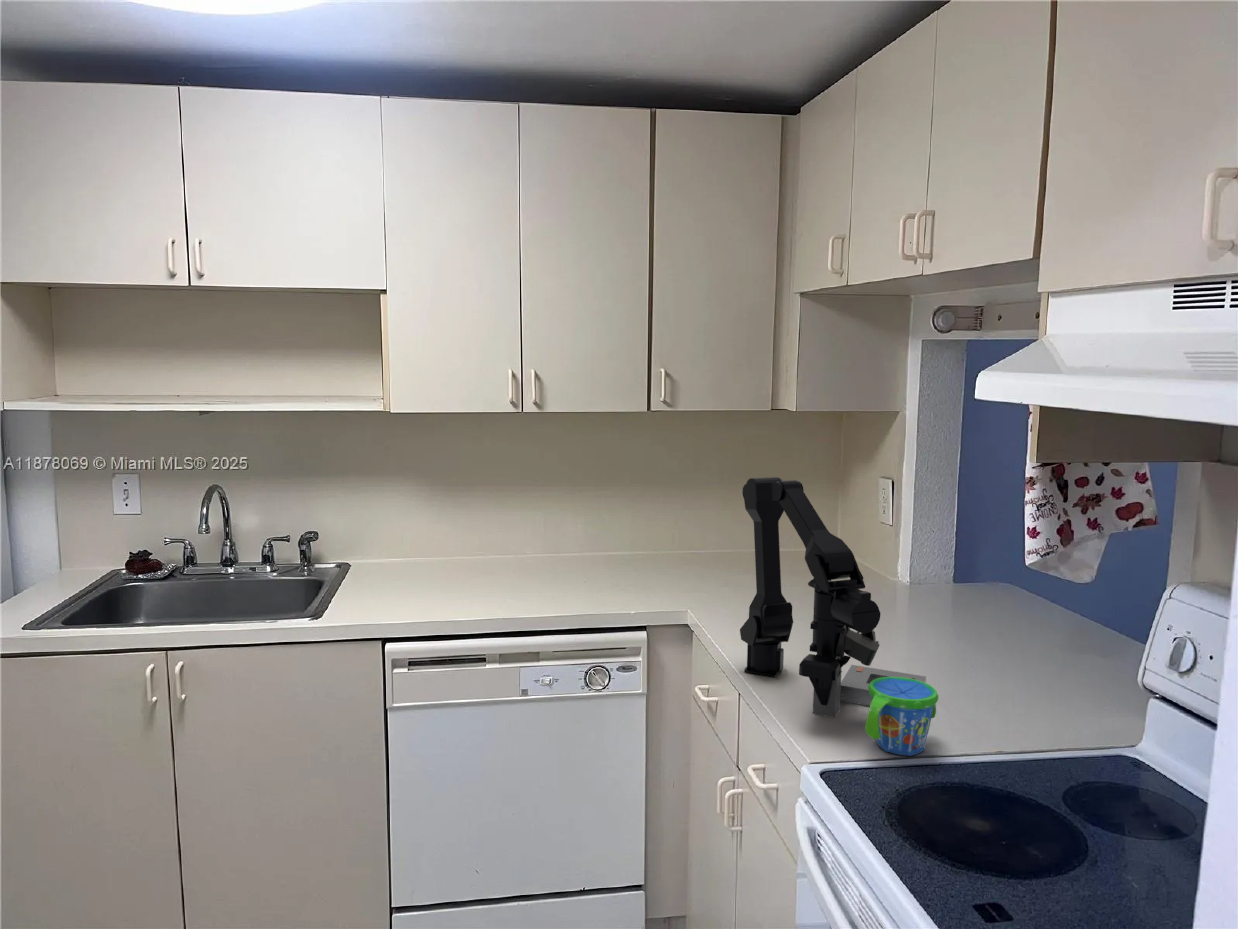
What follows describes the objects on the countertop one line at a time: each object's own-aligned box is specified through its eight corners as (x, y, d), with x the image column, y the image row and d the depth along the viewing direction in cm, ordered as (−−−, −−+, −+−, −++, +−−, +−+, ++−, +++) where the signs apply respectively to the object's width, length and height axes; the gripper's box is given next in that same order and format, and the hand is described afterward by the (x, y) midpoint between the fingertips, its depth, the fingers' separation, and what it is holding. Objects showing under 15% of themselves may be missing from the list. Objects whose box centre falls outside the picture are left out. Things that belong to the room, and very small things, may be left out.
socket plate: (838, 700, 158) (839, 684, 157) (851, 679, 169) (851, 664, 168) (917, 714, 152) (918, 698, 151) (925, 691, 162) (926, 676, 162)
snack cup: (908, 725, 147) (911, 669, 146) (959, 749, 138) (962, 689, 137) (841, 744, 140) (844, 685, 138) (890, 771, 130) (893, 708, 129)
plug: (812, 713, 152) (814, 664, 151) (817, 705, 156) (819, 657, 154) (835, 717, 150) (837, 667, 149) (839, 709, 154) (841, 660, 153)
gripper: (867, 638, 139) (863, 729, 141) (884, 609, 156) (881, 690, 158) (799, 628, 144) (796, 716, 146) (824, 601, 160) (821, 680, 162)
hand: (826, 700), depth 153 cm, fingers closed on plug, 4 cm apart
